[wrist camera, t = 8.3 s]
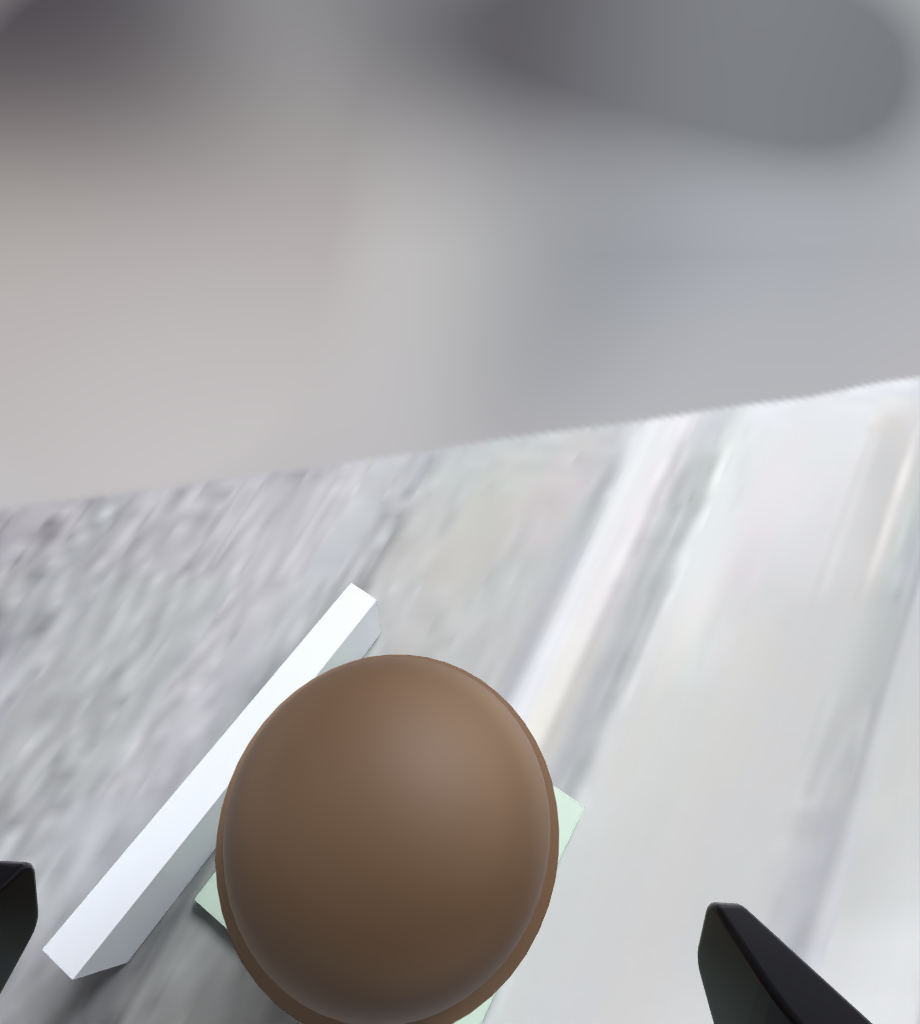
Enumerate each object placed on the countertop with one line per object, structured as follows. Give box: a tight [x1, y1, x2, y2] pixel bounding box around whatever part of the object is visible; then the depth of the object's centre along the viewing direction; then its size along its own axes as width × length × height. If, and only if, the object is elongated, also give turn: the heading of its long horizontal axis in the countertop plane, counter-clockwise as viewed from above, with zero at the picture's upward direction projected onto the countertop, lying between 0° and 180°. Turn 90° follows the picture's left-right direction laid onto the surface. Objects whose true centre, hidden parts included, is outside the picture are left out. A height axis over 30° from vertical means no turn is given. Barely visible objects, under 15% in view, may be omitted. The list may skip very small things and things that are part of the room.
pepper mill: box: [215, 655, 559, 1024], centre depth 11 cm, size 4×4×13 cm
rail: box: [42, 583, 381, 980], centre depth 17 cm, size 11×1×3 cm, turn 146°
